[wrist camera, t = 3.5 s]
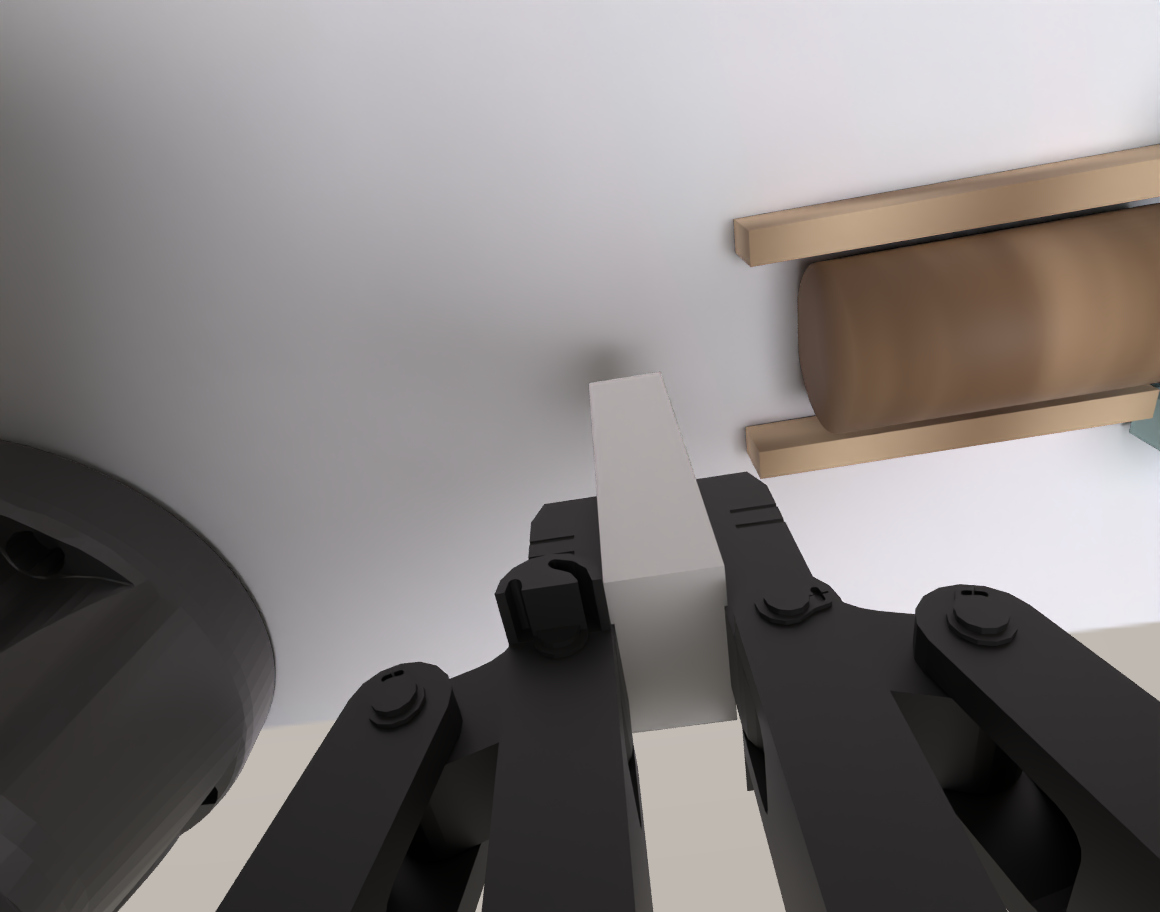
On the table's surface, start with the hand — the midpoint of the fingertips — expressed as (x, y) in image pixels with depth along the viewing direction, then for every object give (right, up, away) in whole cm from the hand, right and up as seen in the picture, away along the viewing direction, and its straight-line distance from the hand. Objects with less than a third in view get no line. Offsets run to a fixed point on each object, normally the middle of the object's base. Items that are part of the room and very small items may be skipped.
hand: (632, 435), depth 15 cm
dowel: (+8, +3, +3) cm, 10 cm away
